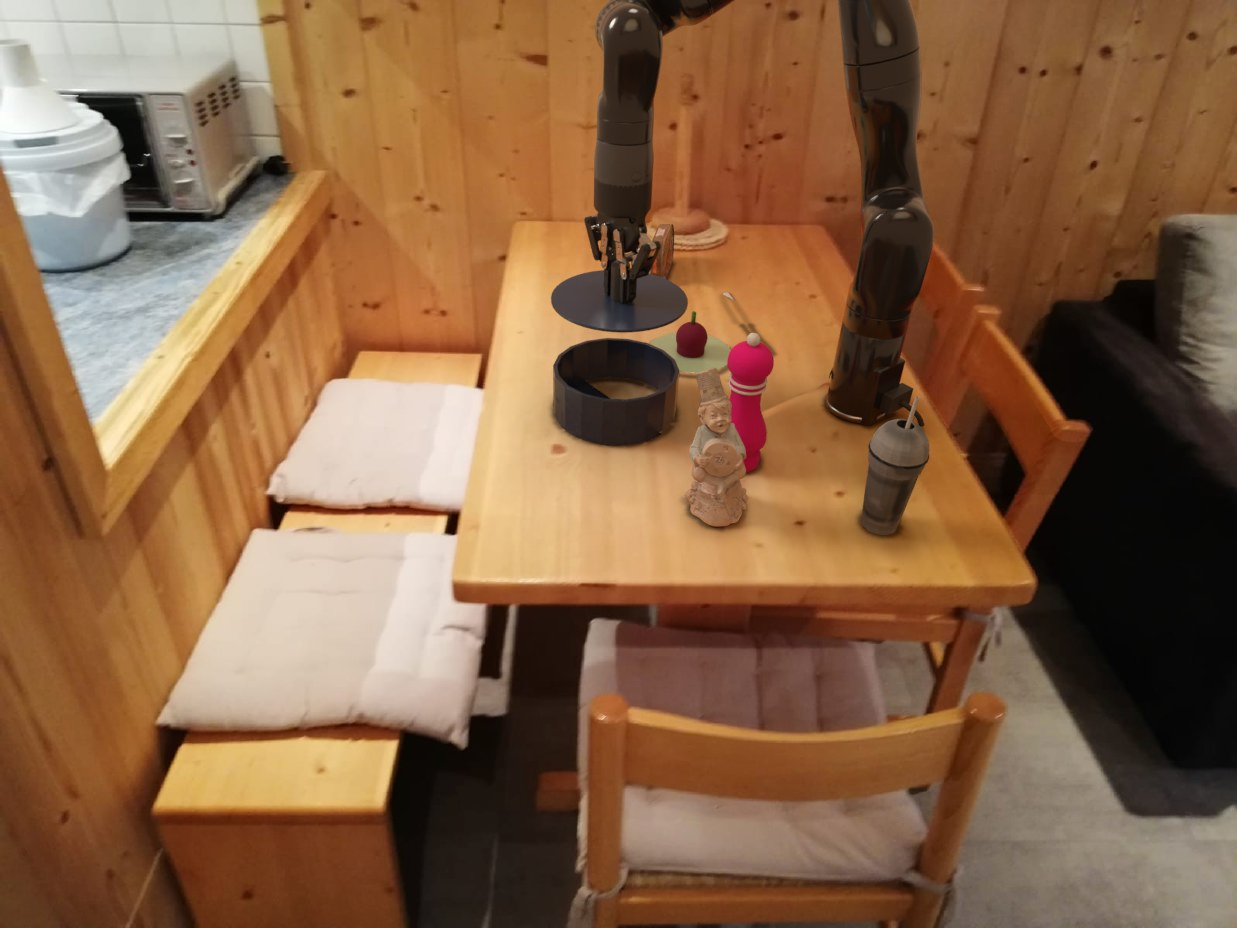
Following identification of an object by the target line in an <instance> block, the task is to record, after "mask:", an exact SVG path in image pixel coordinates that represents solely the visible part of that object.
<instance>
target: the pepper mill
mask: <svg viewBox="0 0 1237 928" xmlns="http://www.w3.org/2000/svg"><path fill="white" fill-rule="evenodd" d="M761 341H762V340H761V336H760V335H759V333H757V332H751V333H749V334H748V335H747V337H746V340H743V341H740V342H738V343H736V344H735V345H734V346H732V348H730V349H731V351H730V353H729V356H728V360H727V365H726V366H727V369H728V371H729V372H730V373H729V376H728V387H729V389H730V395H729V400H730V402H731V404H732V408H731V423H734V425H735V428H736V430H737V432H738V434H739V436H740V438H741V440H742V442H743V444H744V446H745V450H746V459H743V463H744V465H745V468H746V473H749V472H753V471H754V470H756V468H758V466H759V465H760V460H761V450H762V449H763V448H764V447H765V445H766V442H767V438H768V437H767V436H768V430H767V424H766V422H765V419H764V416H763V413H762V407H761V400H762V396H763V395H762V394H763V393H764V392H765V391H766V389H767V384H768V377H769V376H770V375H771V374H772V372H773V369H774V365H775V363H774V362H775V360H774V355H773V352H772V350H771V349H770V348H769V347H768V346H767V345H766V344H764V343H763V342H761Z"/></svg>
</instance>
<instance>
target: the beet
mask: <svg viewBox="0 0 1237 928" xmlns="http://www.w3.org/2000/svg"><path fill="white" fill-rule="evenodd" d="M696 319H697V311H695V310H694V311H692V312H691V319H690V321H686V322H684V323H683V324H681V325H680V326H679V327H678V329H677V330H676V332H677V334H676V342H677V353H678V354H679V355H681V356H683V357H687V358H697V357H700V356H702V355H703V354H704V350H705V345H706V343H707V339H708V336H707V335H708V332H707V330H706V328H705V326H704V325H702V324H701V323H699V322H698V321H697V320H696Z"/></svg>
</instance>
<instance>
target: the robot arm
mask: <svg viewBox="0 0 1237 928" xmlns="http://www.w3.org/2000/svg"><path fill="white" fill-rule="evenodd" d="M733 2H735V0H607V2H606V3H605V4H604V5H603V6H602V7H601V9H600V10H599V12H598V13H597V16H596V18H595V21H594V22H595V23H594V35H595V40H596V43H597V45H598V47H599V48H600V49H601V51H602V52H603V53H602V56H603V71H602V89H601V91H600V92H599V95H598V98H597V105H596V106H597V107H596V141H595V147H594V156H593V159H594V160H593V208H594V209H595V211H596V212H597V213H595V214H591V215H589V216H586V217H584V225H585V229H586V234H587V238H588V240H589V244H590V249H591V253H592V257H593V259H594V260H595V261H596V262H597V261H599V262H600V266H601V268H602V270H604V289H605V294H607V295H609V296H610V287H611V263H612V262H614V261H618V262H619V263H620V274H621V278H620V296H619V301H620V302H621V303H623V304H627V303H629V302H632V301H634V299H635V297H636V287H637V279H638V278H641V277H644V276H647V275H648V274H650V273H651V268H652V266H653V263H654V261H655V259H656V257H657V255H658V253H659V250H660V248H661V245H660V242H659V241H654V242H652V239H651V238H650V237H649V236H648V229H647V228H648V227H647V224H646V217H647V215H648V214H649V212H650V211H651V209H652V199H653V181H654V179H653V177H654V163H655V162H654V157H655V155H654V140H653V139H654V122H655V121H654V119H655V97H656V93H657V88H658V83H659V78H660V73H661V67H662V59H663V49H664V47H663V45H664V43H663V41H664V40H663V39H664V37H665V36H666V35H668V34H670V33H672V32H674V31H675V30H677V29H678V28H681V27H684V26H688V27H689V26H696V25H698V24H700V23H702V22H704V21H706V20H707V19H709V18H710V17H712V16H714V15H715V14H717V13H718V12H719V11H721V10H722V9H724V8H725V7H727V6H729V5H730V4H732V3H733ZM837 6H838V7H837V9H838V17H839V28H840V38H841V54H842V55H841V56H842V67H843V77H844V85H845V86H844V87H845V93H846V99H847V105H848V112H849V116H850V120H851V121H850V122H851V125H852V130H853V133H854V137H855V141H856V144H857V148H858V153H859V160H860V161H859V162H860V184H861V187H860V189H861V190H860V191H861V192H860V198H861V199H860V218H859V228H860V235H861V241H860V242H861V243H860V248H859V254H858V257H857V262H856V266H855V267H856V268H855V272H854V276H853V280H852V281H851V283H850V284H849V287H848V291H847V297H846V302H845V306H844V312H843V316H842V322H841V326H840V331H839V337H838V341H837V346H836V349H835V350H836V351H835V355H834V360H833V365H832V367H831V370H830V372H829V376H828V379H829V386H828V391H827V394H826V397H825V406H826V409H827V410H828V411H829V412H830V413H831V414H833V415H834V416H835V417H837V418H839V419H842V420H844V421H847V422H851V423H856V424H862V425H863V426H865V427H869V426H871V425H873V424H875V423H877V422H879V421H881V420H883V419H885V418H887V417H889V416H890V415H892V414H893V413H895V412H897V411H900V410H901V409H903V408H904V409H905V410H907V411H908V412H909V413H910V412H911V409H912V406H913V405H911V404H910V403H911V400H912V396H913V392H914V387H911V386H910V385H908V384H906V383H904V382H901V380H902V376H903V372H904V368H905V364H906V359H905V358H902V357H901V356H902V352H903V348H904V343H905V340H906V336H907V332H908V328H909V324H910V320H911V318H912V317H911V316H912V313H913V309H914V305H915V302H916V301H917V299H918V298H919V296H920V293H921V290H922V287H923V284H924V280H925V278H926V277H925V276H926V273H927V270H928V266H929V262H930V258H931V254H932V250H933V247H934V240H935V226H934V223H933V220H932V217H931V214H930V211H929V208H928V205H927V203H926V199H925V196H924V191H923V186H922V180H921V174H920V167H919V161H918V149H917V148H918V147H917V146H918V145H917V144H918V143H917V141H918V132H919V123H920V116H921V108H922V107H921V105H922V93H923V92H922V88H923V87H922V86H923V85H922V84H923V83H922V82H923V81H922V79H923V72H922V71H923V70H922V56H921V41H920V32H919V28H918V24H917V19H916V16H915V11H914V8H913V6H912V1H911V0H837ZM599 242H600V245H599ZM628 263H630V269H628ZM913 417H914V418H915V419H916V422H917V424H918V425H919V426H920V427H921V428H923V427H925V422H924V419H923V417H922V415H921V413H920V412H919V411H918V410H917V409H916V410H915V413H914V416H913Z"/></svg>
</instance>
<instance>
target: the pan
mask: <svg viewBox="0 0 1237 928" xmlns="http://www.w3.org/2000/svg"><path fill="white" fill-rule="evenodd" d="M600 379H625V380H629V381H630V380H631V381H636V382H639V383H643V384H645V385H646V386H649V387H651V388H654V389H655V390H658V391H655V392H653V393H650V394H649V395H645V396H639V397H633V398H627V399H624V398H611V397H609V396H608V395H607V394H605V393H603V392H602V391H601V390H599V389H598V388H596V387H595V386H593V385H591V384H590V383H589V382H588V381H595V380H600ZM552 381H553V382H552V389H553V390H552V394H553V397H552V401H553V402H552V404H553V405H552V406H553V415H554V418H555V420H556V422H557V424H559V426H560V427H561V428H562V429H564V431H565V432H567V433H568V434H570V435H571V436H573V437H576V438H577V439H580V440H581V441H586V442H589V443H593V444H597V445H603V446H613V447H614V446H618V447H619V446H621V447H622V446H631V445H638V444H642V443H646V442H649V441H652V440H654V439H656V438H659V437H660V436H662V435H663V433H662V432H664V430H666V429H667V428H668V427H669V426H670V425H671V424H672V423H673V422H674V420H675V415H676V412H677V404H678V392H679V381H680V371H679V368H678V366H677V364H676V361H675V359H673V358H672V357H671V356H670V355H669V354H667V353H666V352H665V351H664V350H662V349H660V348H657V347H655V346H653V345H651V343H648V342H645V341H641V340H635V339H630V338H619V337H618V338H616V337H614V338H613V337H605V338H604V337H603V338H595V339H590V340H589V339H587V340H584V341H582V342H579V343H576V344H574V345H570V346H569V347H567V348H566V349H565V350H563V351H562V352H560V353H559V354H558V355H557V356H556V358H555V361H554V363H553V365H552Z"/></svg>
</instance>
